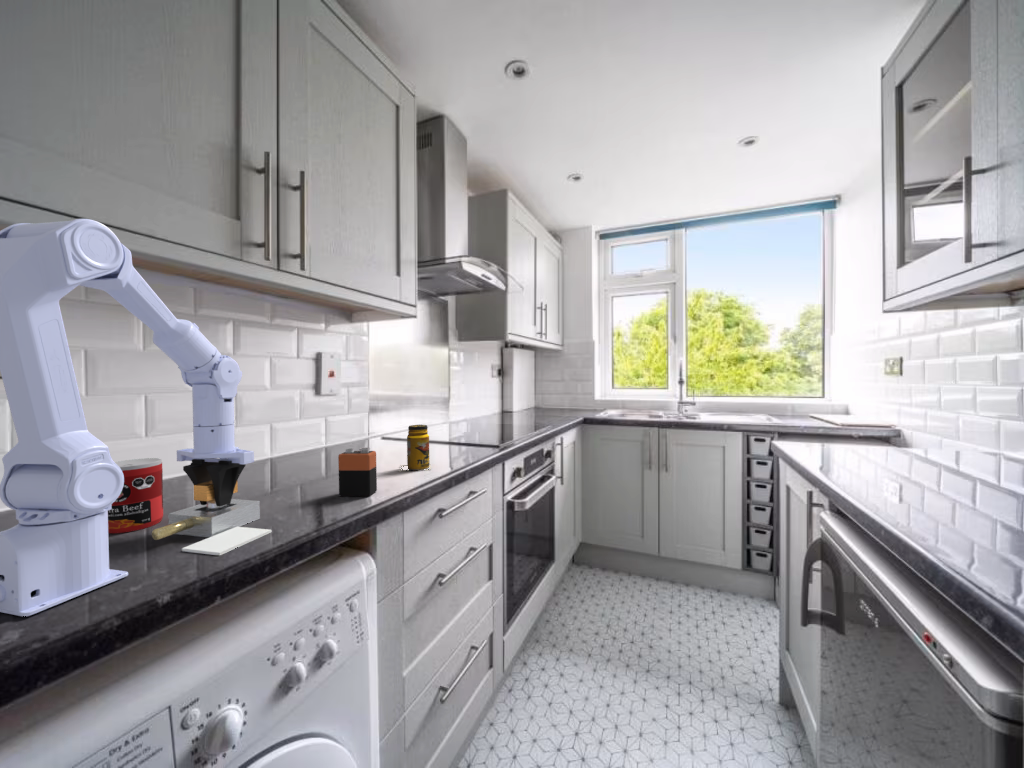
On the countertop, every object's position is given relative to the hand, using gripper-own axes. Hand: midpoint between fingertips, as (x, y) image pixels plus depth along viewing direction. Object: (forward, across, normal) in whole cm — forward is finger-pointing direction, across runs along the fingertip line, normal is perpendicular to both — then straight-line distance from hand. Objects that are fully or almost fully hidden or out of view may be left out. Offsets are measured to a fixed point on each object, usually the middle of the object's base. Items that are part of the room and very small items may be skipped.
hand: (216, 504), depth 70 cm
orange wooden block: (+2, 0, 0) cm, 2 cm away
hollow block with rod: (+4, 0, +2) cm, 4 cm away
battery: (+4, -12, -22) cm, 26 cm away
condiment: (+4, -12, -48) cm, 50 cm away
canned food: (+4, +14, +3) cm, 15 cm away
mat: (+4, -8, +5) cm, 11 cm away
